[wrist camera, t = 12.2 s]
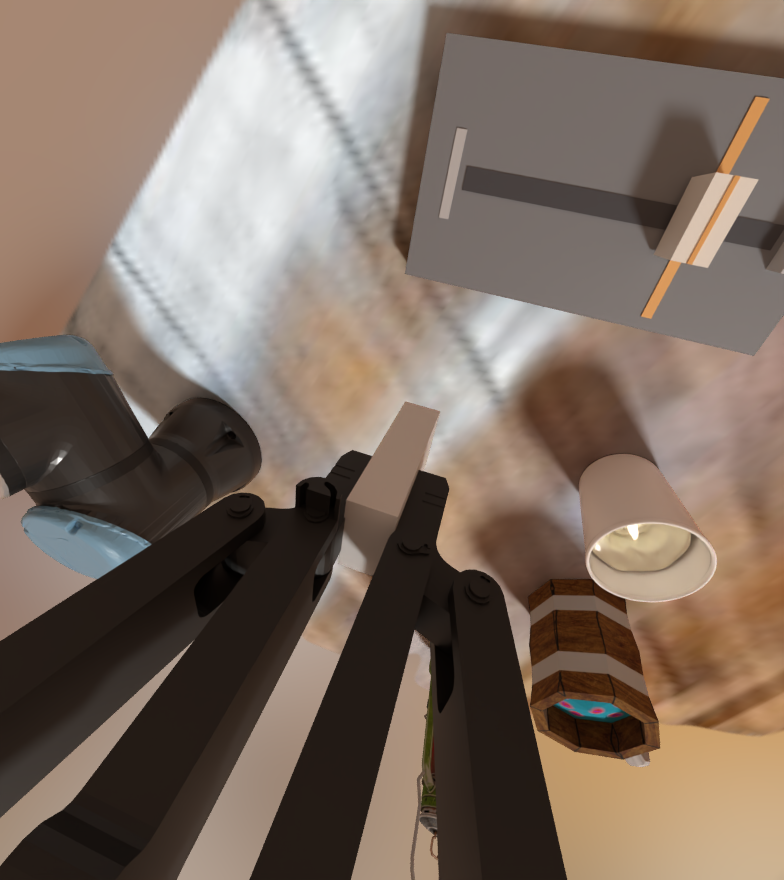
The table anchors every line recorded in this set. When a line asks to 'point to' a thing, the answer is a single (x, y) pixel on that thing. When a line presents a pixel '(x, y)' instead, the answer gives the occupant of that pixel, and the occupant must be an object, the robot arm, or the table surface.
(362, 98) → the table surface
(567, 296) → the panel
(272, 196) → the table surface
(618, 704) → the mug
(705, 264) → the fader
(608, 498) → the candle holder
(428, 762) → the lantern
